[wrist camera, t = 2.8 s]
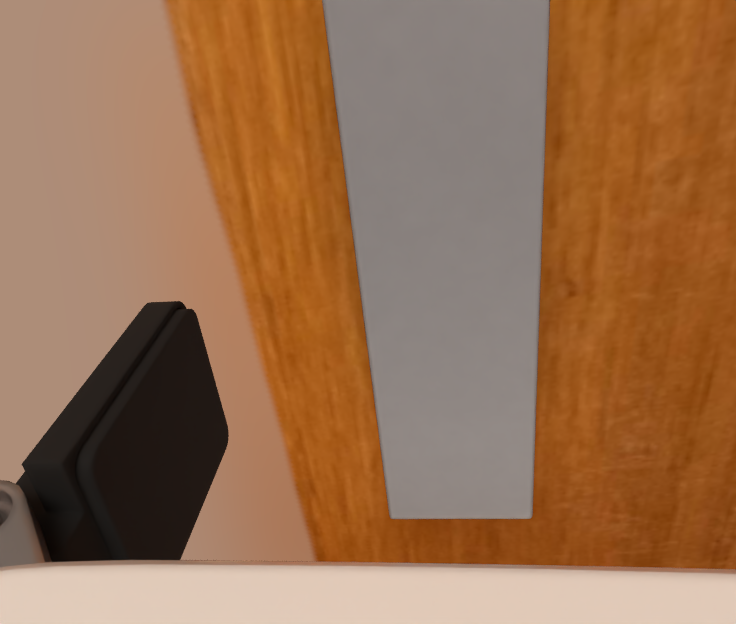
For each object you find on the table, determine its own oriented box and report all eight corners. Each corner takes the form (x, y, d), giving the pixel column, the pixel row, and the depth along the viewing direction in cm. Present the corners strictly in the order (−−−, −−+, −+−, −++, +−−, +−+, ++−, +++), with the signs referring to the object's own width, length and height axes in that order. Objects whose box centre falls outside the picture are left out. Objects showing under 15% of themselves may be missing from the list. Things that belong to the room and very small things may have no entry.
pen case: (338, -124, 13) (303, -134, 10) (524, -150, 12) (556, -169, 9) (397, 417, 20) (389, 520, 17) (516, 414, 20) (532, 520, 16)
